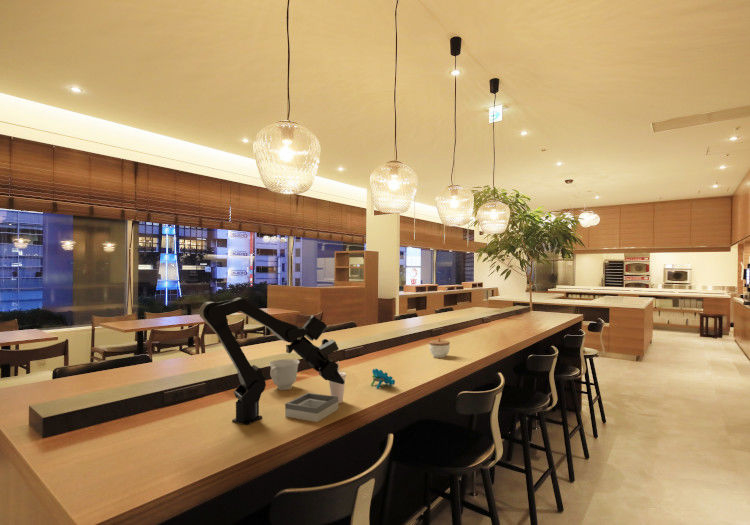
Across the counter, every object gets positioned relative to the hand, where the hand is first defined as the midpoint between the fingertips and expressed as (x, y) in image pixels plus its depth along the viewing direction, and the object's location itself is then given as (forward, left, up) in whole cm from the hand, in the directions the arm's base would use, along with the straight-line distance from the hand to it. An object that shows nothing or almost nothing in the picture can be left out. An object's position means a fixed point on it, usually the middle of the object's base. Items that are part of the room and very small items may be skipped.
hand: (339, 379), depth 135 cm
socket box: (-13, +3, -7) cm, 15 cm away
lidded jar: (+81, -11, -8) cm, 82 cm away
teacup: (+4, +29, -8) cm, 30 cm away
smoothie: (-1, +1, -8) cm, 8 cm away
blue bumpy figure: (+22, -6, -8) cm, 24 cm away
